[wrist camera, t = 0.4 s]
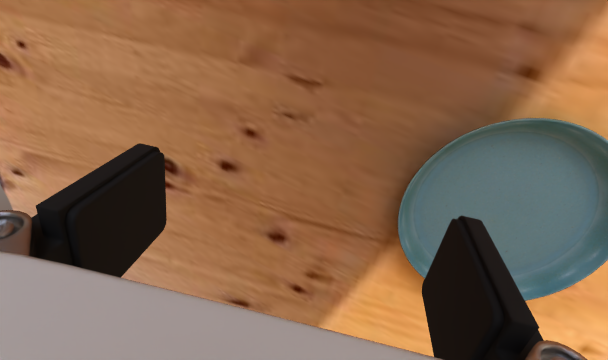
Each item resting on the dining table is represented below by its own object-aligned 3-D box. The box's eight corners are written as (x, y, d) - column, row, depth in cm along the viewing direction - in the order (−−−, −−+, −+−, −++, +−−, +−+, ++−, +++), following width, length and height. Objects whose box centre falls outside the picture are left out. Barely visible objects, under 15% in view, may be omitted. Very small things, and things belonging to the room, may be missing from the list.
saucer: (612, 272, 43) (630, 291, 40) (413, 293, 50) (416, 311, 47) (624, 82, 34) (649, 89, 31) (377, 140, 40) (378, 150, 37)
